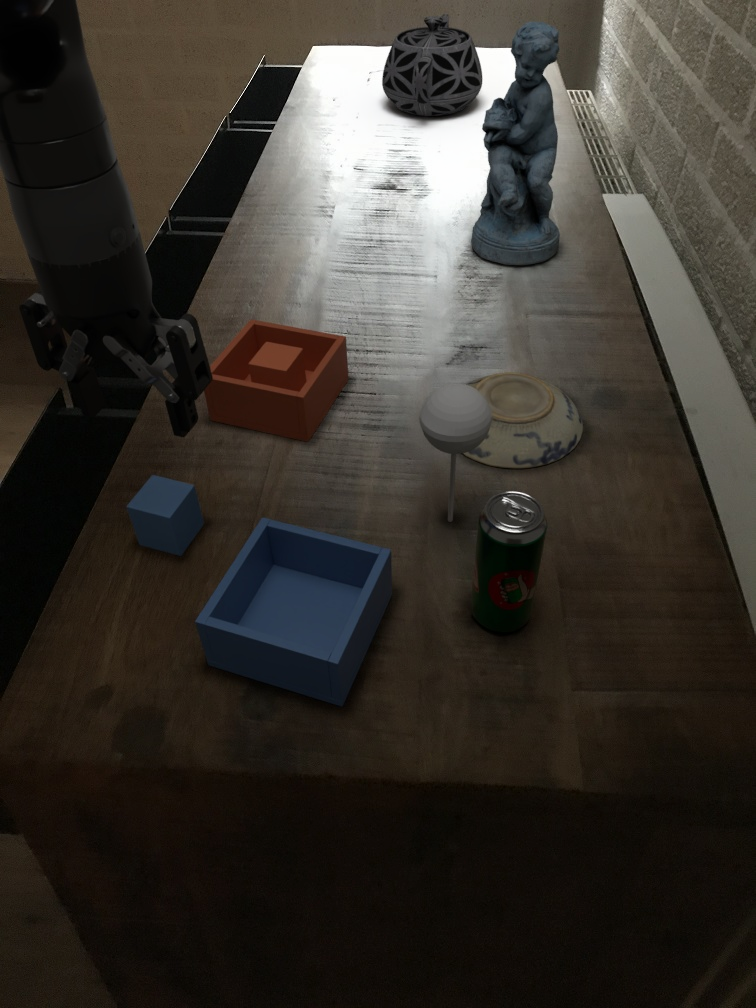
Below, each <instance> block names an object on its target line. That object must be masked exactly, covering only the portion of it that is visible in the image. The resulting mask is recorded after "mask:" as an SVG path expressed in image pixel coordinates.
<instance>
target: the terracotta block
mask: <svg viewBox="0 0 756 1008" xmlns="http://www.w3.org/2000/svg"><path fill="white" fill-rule="evenodd" d="M249 370H250V376H251V382H253V383H258V384H263V385H268V386H273V387H278V388H283V389H288V390H293V391H298V392H300V390H301V389H302V387H303V386H304V385H305V383H306V373H305V363H304V354H303V348H298V347H293V346H287V345H282V344H276V343H271V342H265V344H264V345H263V346H262V347H261V349H260V350H259V351H258V352H257V354H256V355H255V356H254V357H253V359H252V360H251V361H250V362H249Z"/></svg>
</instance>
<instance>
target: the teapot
mask: <svg viewBox="0 0 756 1008" xmlns="http://www.w3.org/2000/svg"><path fill="white" fill-rule="evenodd" d="M423 22H424V24H425V25H426V26H422V27H421V26H420V27H415V28H414V27H413V28H410V29H409V28H408V29H406V30H404V31H401V32H399V33H397V35H396V36H395V38H394V40H393V42H392V44H391V47H390V49H389V52H388V54H387V57H386V60H385V63H384V66H383V72H382V78H381V85H382V90H383V92H384V94H385V96H386V97H387V99H388V100H389V101H390V102H391V104H394V105H395V107H396V108H397V109H398V110H399V111H402V112H404V113H407V114H411V115H415V116H425V117H437V116H438V117H439V116H445V115H452V114H455V113H458V112H461V111H463V110H464V109H466V108H467V107H468V106H469V104H470V103H472V102H473V101H474V100H475V99H476V98H477V97H478V95H479V93H481V89H482V87H483V69H482V64H481V60H480V57H479V54H478V51H477V49H476V46H475V44H474V43H475V42H474V40H473V38H472V36H471V34H470V33H468V31H465V30H462V29H459V28H455V27H449V26H450V24H449V22H450V15H449V14H448V13H444V14H442V15H441V16H438V15H430V16H427V17H424V19H423Z"/></svg>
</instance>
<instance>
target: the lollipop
mask: <svg viewBox="0 0 756 1008" xmlns="http://www.w3.org/2000/svg"><path fill="white" fill-rule="evenodd" d="M466 384H467V383H461V382H452V383H446V384H443V385H441V386H438V388H436V389H435V390H433V391H432V392H431V393H430V394H429V395H428V396H427V397H426V399H425V401H424V402H423V404H422V406H421V408H420V410H419V411H420V412H419V417H418V420H419V425H420V428H421V431H422V433H423V436H424V437H425V438H426V441H428V443H429V444H430V445H431V446H432V447H434V448H435V449H437V450H438V451H440V452H443V453H445V454H448V455H449V454H450V465H449V468H450V469H449V470H450V471H449V485H448V486H449V487H448V489H449V490H448V506H447V508H448V509H447V522H450V523H451V522H453V520H454V519H453V518H454V504H455V503H454V502H455V485H456V469H457V468H456V467H457V455H460V454H463V453H466V452H469V451H471V450H473V449H475V448H476V447H477V446H479V445H480V444H481V443H482V442H483V440H484V439H485V438H486V436H487V434H488V432H489V430H490V427H491V423H492V410H491V408H490V406H489V404H488V402H487V401H486V399H485V397H484V396H483V395H482V394H481V393H480V392H479V391H478V390H476V389H475V388H473V387H471V386H469V385H466Z"/></svg>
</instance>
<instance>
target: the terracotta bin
mask: <svg viewBox="0 0 756 1008" xmlns="http://www.w3.org/2000/svg"><path fill="white" fill-rule="evenodd" d="M265 342H271V343H276V344H282V345H287V346H293V347H298V348H303V354H304V363H305V373H306V383H305V385H304V386H303V387H302V389H301V390H300V392H298V391H293V390H288V389H283V388H278V387H273V386H268V385H263V384H258V383H253V382H251V376H250V370H249V362H250V361H251V360H252V359H253V357H254V356H255V355H256V354H257V352H258V351H259V350H260V349H261V347H262V346H263V345H264V344H265ZM347 347H348V345H347V336H346V335H339V334H334V333H330V332H329V333H328V332H322V331H318V330H312V329H307V328H302V327H295V326H290V325H285V324H278V323H273V322H269V321H264V320H263V321H262V320H257V319H253V318H252V319H249V321H248V322H247V323H246V324H245V325H244V326H243V328H242V329H241V330H240V331H239V332H238V333H237V334H236V335H235V337H234V338H233V339H232V340H231V341H230V342H229V344H228V345H226V347H225V348H224V349H223V350H222V352H221V353H220V354H219V355H218V356H217V357H216V358H215V360H213V362H212V363H211V364H209V365H210V369H211V373H212V376H213V380H212V381H211V383H210V384H209V385H208V386H207V387H206V389H205V390H204V391H203V394H204V397H205V398H204V399H205V402H206V403H205V404H206V407H207V411H208V415H209V416H208V417H209V419H210V421H211V422H217V423H222V424H226V425H229V426H235V427H239V428H243V429H248V430H252V431H256V432H262V433H267V434H271V435H275V436H280V437H284V438H289V439H293V440H297V441H303V442H306V443H307V442H310V441H311V438H312V437H313V435H314V434H315V433H316V431H317V429H318V428H319V426H320V425H321V423H322V422H323V420H324V418H326V416H327V414H328V412H329V411H330V410H331V409H332V407H333V405H334V403H335V402H336V400H337V398H338V397H339V395H340V393H341V392H342V391H343V389H344V388H345V386H346V384H347V383H348V382H349V365H348V348H347Z"/></svg>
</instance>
